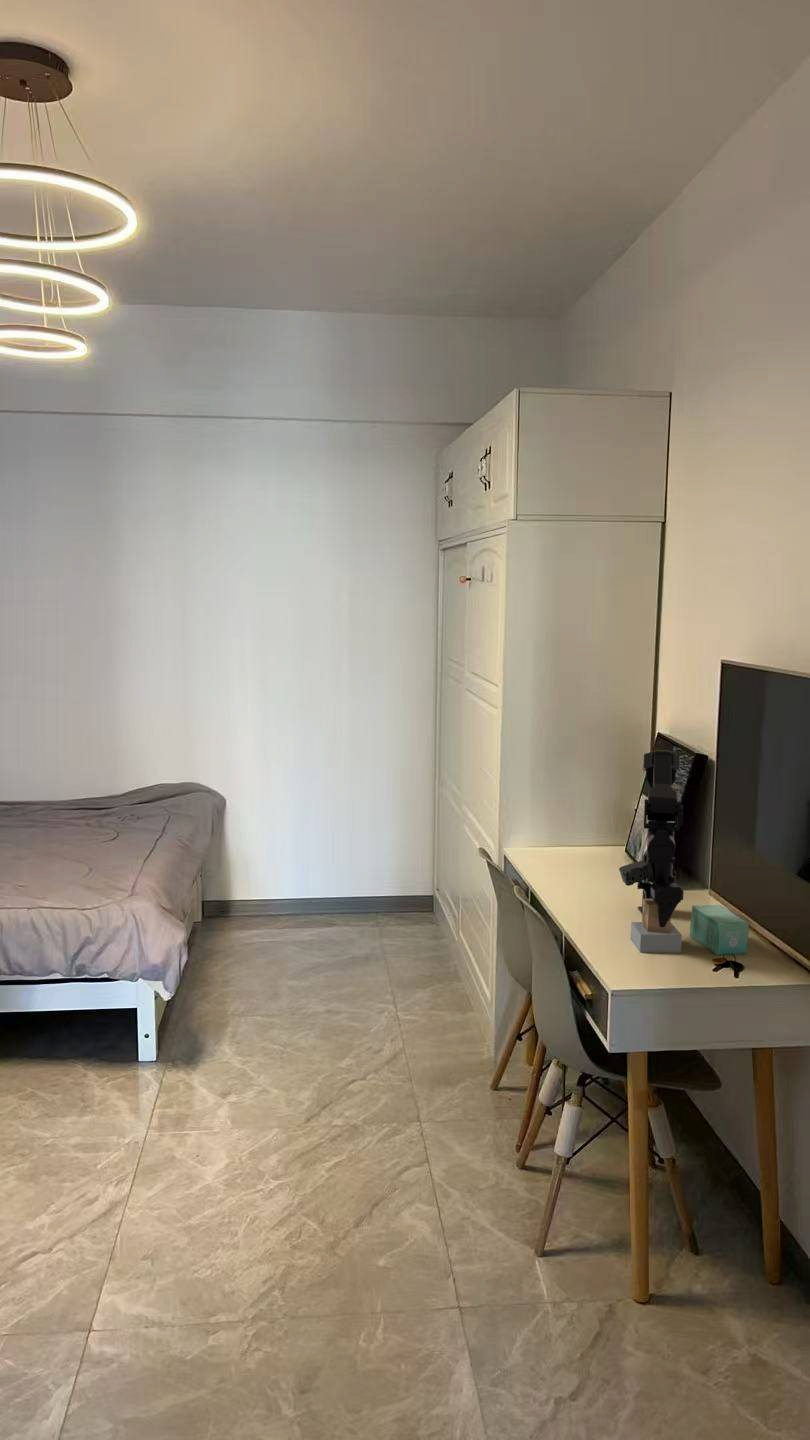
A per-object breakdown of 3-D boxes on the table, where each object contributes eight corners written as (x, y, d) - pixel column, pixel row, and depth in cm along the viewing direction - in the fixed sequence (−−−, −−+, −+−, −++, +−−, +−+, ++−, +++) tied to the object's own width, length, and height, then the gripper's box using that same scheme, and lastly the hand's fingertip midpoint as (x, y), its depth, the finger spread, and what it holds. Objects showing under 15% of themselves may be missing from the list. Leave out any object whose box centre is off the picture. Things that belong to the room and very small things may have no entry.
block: (641, 924, 242) (643, 898, 242) (664, 925, 242) (665, 898, 242) (647, 931, 237) (648, 905, 237) (670, 932, 237) (671, 905, 237)
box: (717, 956, 235) (719, 922, 234) (688, 936, 248) (690, 905, 247) (748, 954, 236) (750, 921, 235) (718, 935, 249) (720, 904, 248)
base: (630, 939, 245) (631, 921, 244) (669, 939, 245) (670, 922, 244) (640, 952, 236) (640, 934, 235) (681, 952, 236) (681, 935, 235)
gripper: (614, 841, 247) (611, 907, 249) (633, 861, 228) (630, 933, 230) (662, 841, 247) (659, 908, 249) (685, 862, 229) (682, 934, 230)
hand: (656, 920), depth 240 cm, fingers open, 9 cm apart
